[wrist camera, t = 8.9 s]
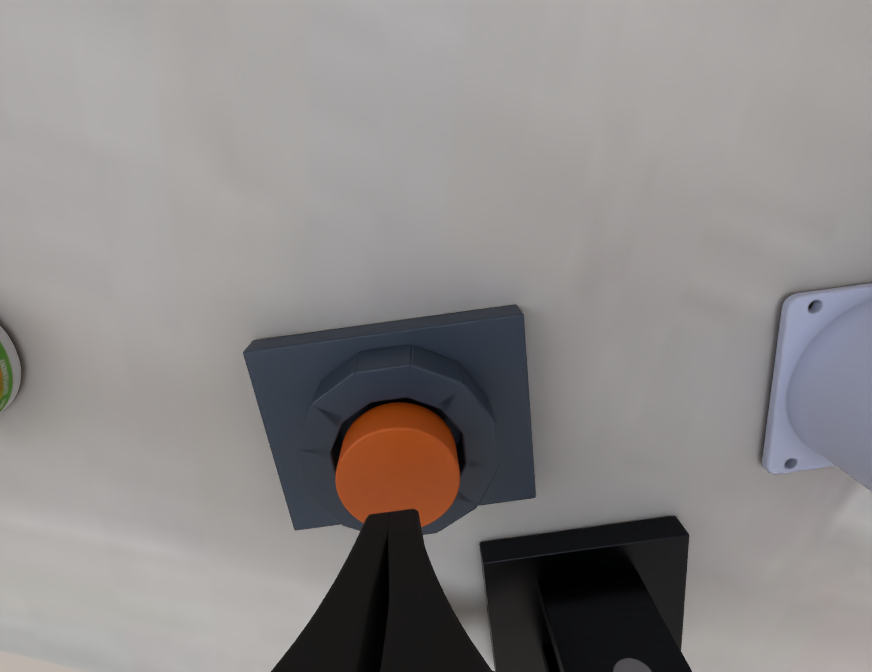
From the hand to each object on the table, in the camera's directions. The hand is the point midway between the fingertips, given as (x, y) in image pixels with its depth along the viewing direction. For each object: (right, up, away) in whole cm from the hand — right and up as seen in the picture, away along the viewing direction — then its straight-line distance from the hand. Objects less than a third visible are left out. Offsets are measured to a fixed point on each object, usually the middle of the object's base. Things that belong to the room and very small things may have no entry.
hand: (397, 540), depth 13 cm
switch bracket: (+8, -7, +10) cm, 15 cm away
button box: (0, +2, +6) cm, 7 cm away
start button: (0, +1, +4) cm, 4 cm away
